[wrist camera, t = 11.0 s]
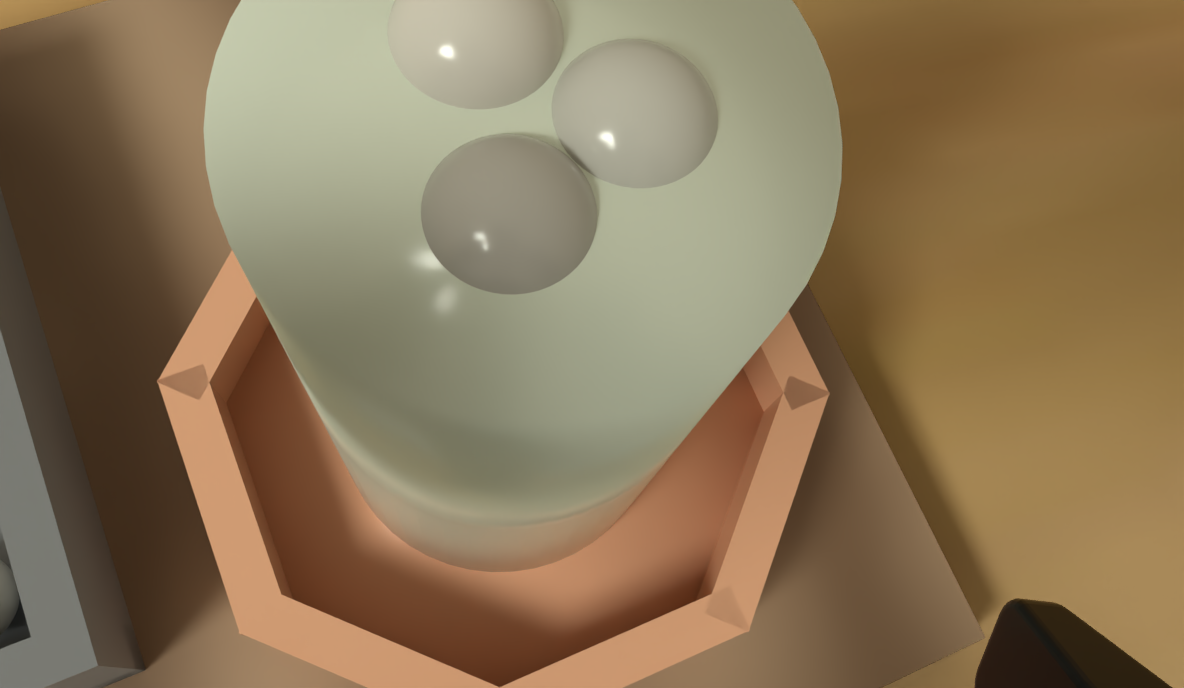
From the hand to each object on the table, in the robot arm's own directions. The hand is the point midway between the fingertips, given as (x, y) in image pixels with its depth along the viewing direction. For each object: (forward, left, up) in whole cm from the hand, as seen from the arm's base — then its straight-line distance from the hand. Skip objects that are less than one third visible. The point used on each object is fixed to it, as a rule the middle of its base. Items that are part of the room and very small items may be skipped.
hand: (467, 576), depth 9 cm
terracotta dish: (+2, +4, -12) cm, 12 cm away
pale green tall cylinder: (+2, +4, -11) cm, 12 cm away
